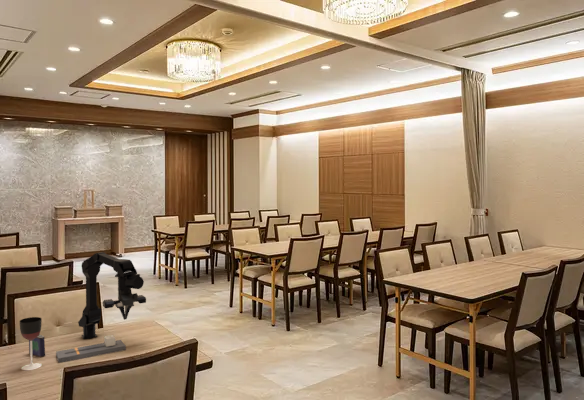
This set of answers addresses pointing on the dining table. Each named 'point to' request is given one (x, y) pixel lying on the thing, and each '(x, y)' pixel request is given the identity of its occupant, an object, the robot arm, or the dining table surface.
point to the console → (88, 351)
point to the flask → (38, 346)
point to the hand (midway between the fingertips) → (125, 319)
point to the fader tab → (109, 340)
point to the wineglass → (30, 336)
